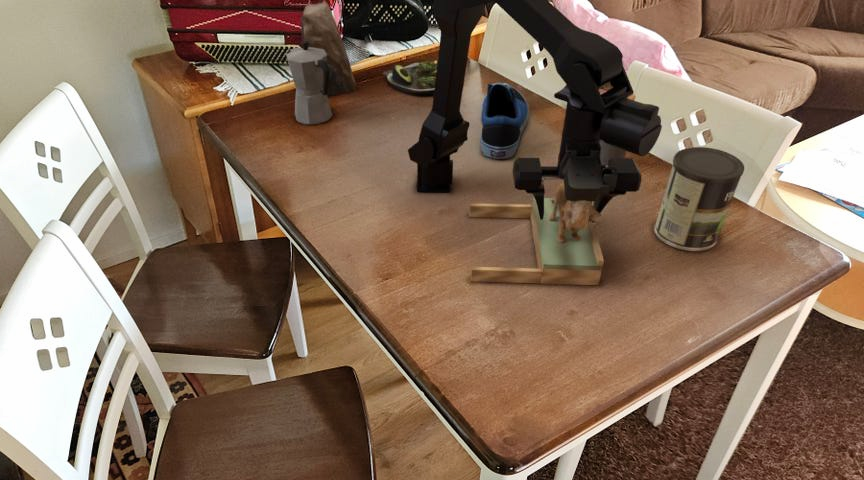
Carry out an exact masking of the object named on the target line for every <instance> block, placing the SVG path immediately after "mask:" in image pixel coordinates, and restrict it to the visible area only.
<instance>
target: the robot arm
mask: <svg viewBox="0 0 864 480" xmlns="http://www.w3.org/2000/svg"><path fill="white" fill-rule="evenodd" d="M491 3H495V4H497V5H498V6H499V7H500V8H501V9H502V10H503V11H504V12H505V13H506V14H507V15H508V16H509V17H510V18H511V19H513V20H514V22H516V23H517V24H518V25H519V27H521V28H522V29H523V30H524V31H525V32H526V33H527V34H528V35H529V36H530V37H531V38H532V39H534V40H535V41H536V42H537V43H538V44H539V45H540V46H541V47H542V48H543V49H544V50H545V51H547V53H548V54H549V55H550V56H551V58H552V60H553V64H554V67H555V71H556V73H557V74H558V76H559V77H560V78H561V79H562V81H563V82H564V83H565V86H564V87H563V88H562V89H560V90H559V91H557V92H555V93H554V94H553V97H554V99H557V100H560V101H563V102H565V103H566V106H565V114H564V119H563V127H562V131H561V140H560V145H559V151H558V156H557V164H556V166H543V165H542V164H541V160H540V157H517V158H515V160H514V161H513V163H512V177H513V186H514V187H513V188H514V189H515V190H517V191H525V194H530V195H531V194H532V195H533V198H535V200H536V203H537V207H538V211H539V216H540V220H543V217H544V198H545V194H546V190H545V189H546V188H545V184H544V182H545V180H547V181H549V180H551V181H552V180H553V181H554V180H556V181H558V180H559V181H563V183H564V188H565V198H566V199H567V200H569V201H589V202H592V206H593V207H595V210H596V211H598V212H599V213H601V214H602V212H603V210H604V209H605V207H607V205H608V204H609V203H610V202H611V200H613V198H615V197H618V196H624V195H626V194H627V192H628V193H629V192H630V193H637V192H638V191H639V190H640V188H641V184H642V173H641V171H640V169H639V167H638V165H637V162H636V161H635V159H633V158H626V157H625V158H610V159H609V160H608V164H607V166H605V165H601V160H600V154H601V146H600V145H601V140H602V141H604V142H605V143H606V144H609V145H612V146H614V147H617V148H620V149H622V150H625V151H626V152H628V153H631V154H634V155H636V156H639V157H645V156H647V155H649V153H650V152H651V151H652V150H653V148H654V147H655V145H656V144H657V142H658V139H659V137H660V134H661V133H662V132H661V131H662V128H663V125H662V117H661V116H660V115H659V110H660V107H659V106H657V105H654V104H651V103H643V102H640V101H637V100H631V99H627V98H628V97H629V96H631V95H632V94H634V93H635V92H634V89H633V87H632V84H631V81H630V79H629V77H628V74H627V72H626V69H625V67H624V62H623V58H624V55H623V52H622V51H621V49H619V47H618V46H617V45H615V44H614V43H612V42H611V41H610V40H607V39H605V38H604V37H602V36H601V35H599V34H598V33H595V32H592V31H588V30H585V29H583V28H582V29H581V28H580V27H579V26H577V25H576V24H574V23H573V22H572V21H571V20H570V19H569V18H568V17H566V16H565V15H564V14H563V13H562V12H561V11H560V10H559V9H558V8H557V7H556V6H555V5H553V3H551V2H550V1H549V0H433V17H434V19H435V22H436V25H437V26H438V29H439V30H440V37H439V46H438V55H437V62H438V63H437V71H436V80H435V88H434V94H433V98H432V106H431V110H430V112H429V113H428V114H427V117H426V118H425V119H424V121H423V123H422V125H421V127H420V132H419V136H418V141H417V142H415V143H414V144H413V145H412V146H410V147H409V148H408V149H407V153H408V157H409V161H410V162H413V163H415V164H416V177H417V179H416V188H415V189H416V192H420V193H450V192H451V186H452V185H453V178H454V177H453V176H454V160H453V159H451V155H453V154H456V153H458V151H459V149H460V148H461V147H462V146H464V144H465V142H466V141H468V139H469V137H468V130H469V128H470V122H469V121H468V120H465V119H464V117H463V115H462V113H461V103H462V97H463V90H464V84H465V77H466V70H467V63H468V59H469V58H468V57H469V51H470V45H471V38H472V33H473V32H474V30H475V29H476V27H477V25H478V24H479V22H480V21H481V20H482V17H483V15H484V13H485V9H486V6H487V4H491ZM608 85H610V86H611V88H609V89H608V90H606V91H604V92H603V93H600V90H601V89H602V88H604V87H606V86H608Z"/></svg>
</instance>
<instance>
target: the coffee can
mask: <svg viewBox="0 0 864 480" xmlns="http://www.w3.org/2000/svg"><path fill="white" fill-rule="evenodd" d="M744 172H745V164H744V163H743V161H741V159H740V158H738V157H737V156H735V155H733V154H732V153H729V152H727V151H724V150H721V149H717V148H712V147H705V146H693V147H692V146H691V147H686V148H683V149H681V150H680V149H679V151H677V152H676V153H675V154H674V156H673V159H672V166H671V170H670V173H669V176H668V179H667V183H666V187H665V190H664V194H663V197H662V201H661V205H660V208H659V211H658V215H657V219H656V222H655V224H654V226H653V230H654V234H655V236H656V237H657V239H659V240H660V241H662V242H663V243H664V244H666V245H668V246H670V247H672V248H674V249H678V250H681V251H687V252H702V251H707V250H710V249H712V248H713V247H715V246H716V245H717V243H718V241H719V236H720V234H721V230H722V228H723V226H724V222H725V220H726V217H727V215H728V213H729V209H730V208H731V207H730V206H731V204H732V201H733V200H734V196H735V193H736V191H737V188H738V185H739V183H740V180H741V177H743V174H744Z"/></svg>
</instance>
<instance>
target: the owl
mask: <svg viewBox="0 0 864 480" xmlns="http://www.w3.org/2000/svg"><path fill="white" fill-rule="evenodd" d="M299 21H300V23H301V25H300V29H301V37H302V42H303V41H308V47H313V48H319V49H324V51H325V52H326V54H327V60H326V62H327V64H328V66H329V69H330V76H329V86H328V93H327V97H331V96H335V95H340V94H347V93H350V92H355V91H357V87H356V79H355V76H354V74H353V70H352V65H351V62H350V59H349V56H348V52H347V49H346V47H345V44H344V42H343V40H342V37H341V34H340V30H339V28H338V24H337V22H336V19H335V18H334V15H333V12H332V10H331V7H330V6H329V3H328V2H327V0H323V1H322V2H318V3H312V4H308V5H306V6H304V9H303V11H302V15H301V18H300V20H299Z"/></svg>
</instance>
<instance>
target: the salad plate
mask: <svg viewBox="0 0 864 480" xmlns="http://www.w3.org/2000/svg"><path fill="white" fill-rule="evenodd" d="M437 63H438V60H434V62H431V60H428V61H424V62H421V61H420V62H413V63H411V64H409V65H408V64H407V66H402V65H400V64H395V65H394V66H393V68H392V69H391V70H385V71H384V72H383V73H382V75H384V76H386V81H387V82H388V84H389V85H390V86H391V88H393V89H394V90H397V91H399V92H401V93H404V94H407V95H411V96H417V97H426V96H431V95H434V88H435V80H436V71H437Z"/></svg>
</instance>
